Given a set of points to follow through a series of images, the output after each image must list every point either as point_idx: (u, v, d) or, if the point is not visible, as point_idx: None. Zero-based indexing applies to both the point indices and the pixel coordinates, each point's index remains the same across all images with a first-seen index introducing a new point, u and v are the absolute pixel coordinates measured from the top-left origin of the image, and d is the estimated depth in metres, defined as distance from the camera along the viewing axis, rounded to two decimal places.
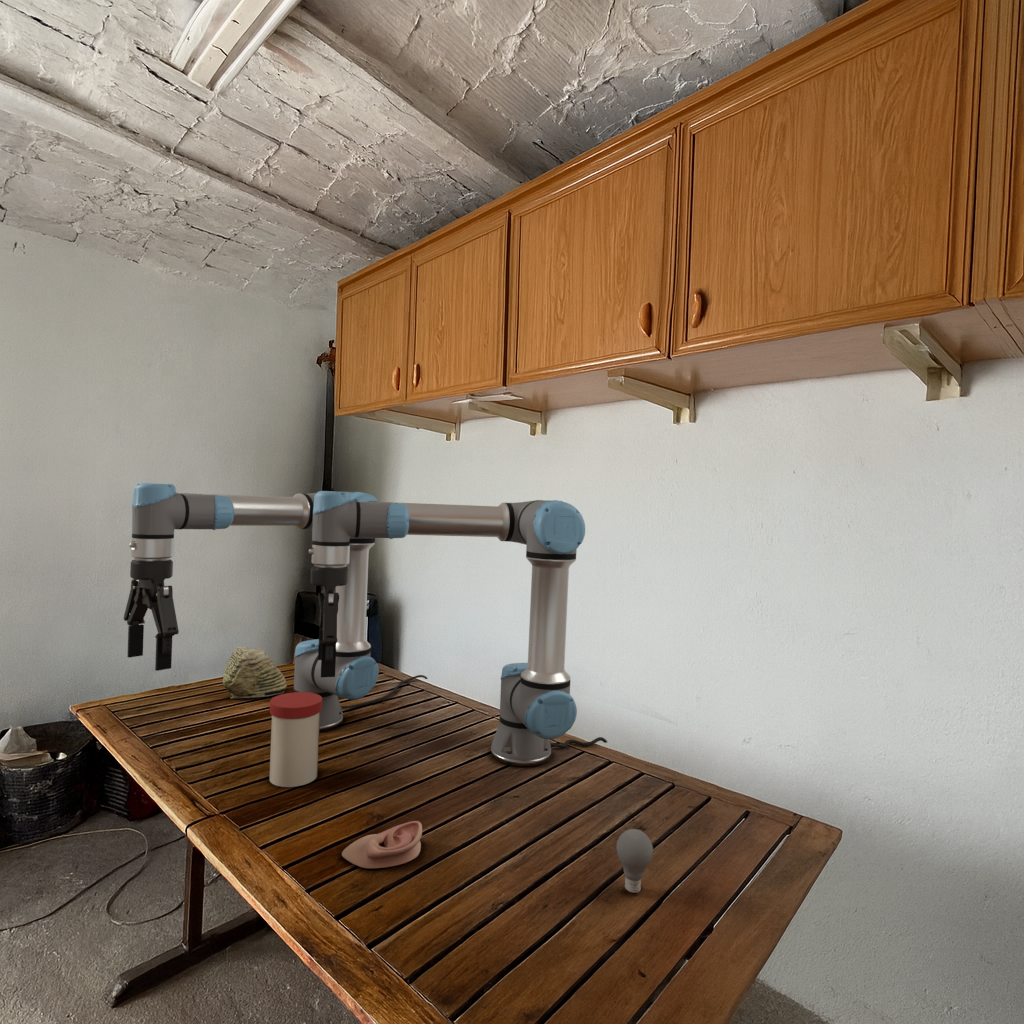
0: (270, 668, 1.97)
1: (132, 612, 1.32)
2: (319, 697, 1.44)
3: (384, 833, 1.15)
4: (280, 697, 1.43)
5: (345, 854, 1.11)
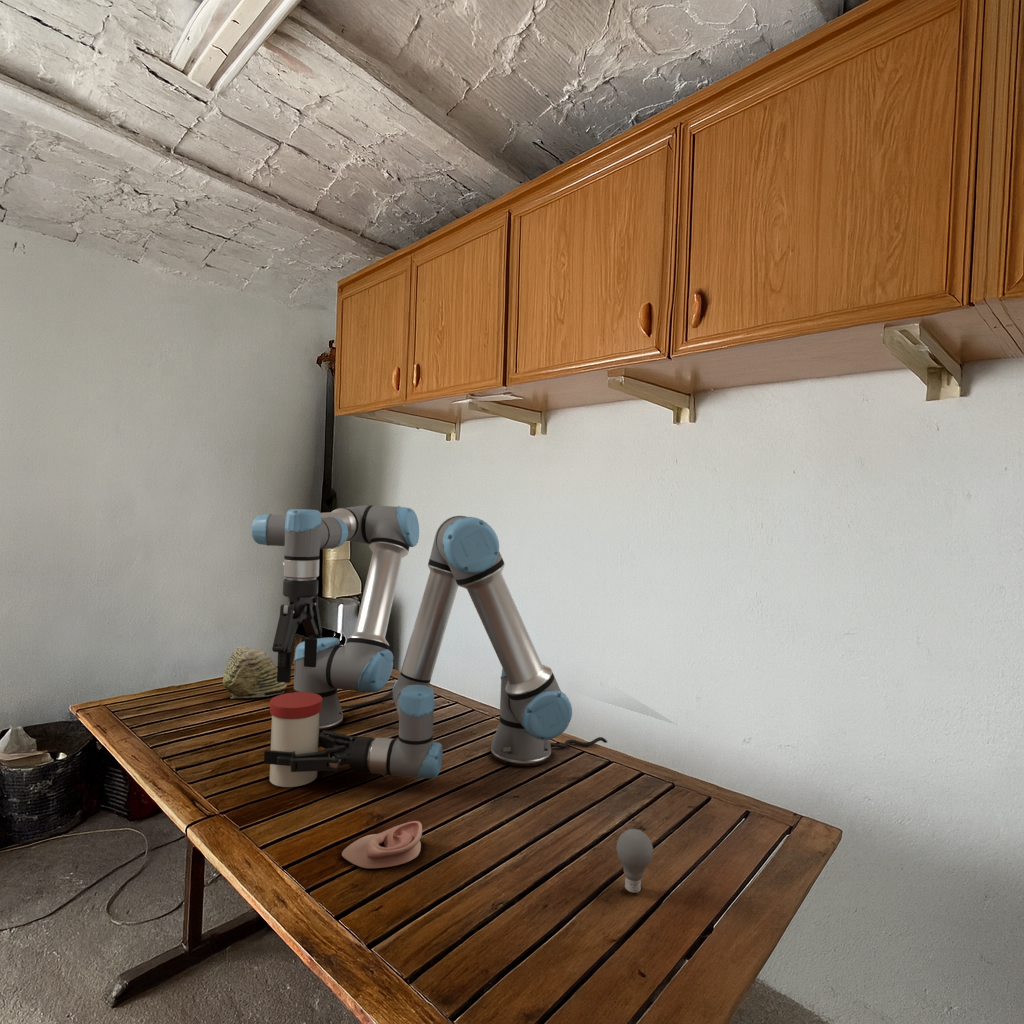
0: (270, 668, 1.97)
1: None
2: (319, 697, 1.44)
3: (384, 833, 1.15)
4: (280, 697, 1.43)
5: (345, 854, 1.11)
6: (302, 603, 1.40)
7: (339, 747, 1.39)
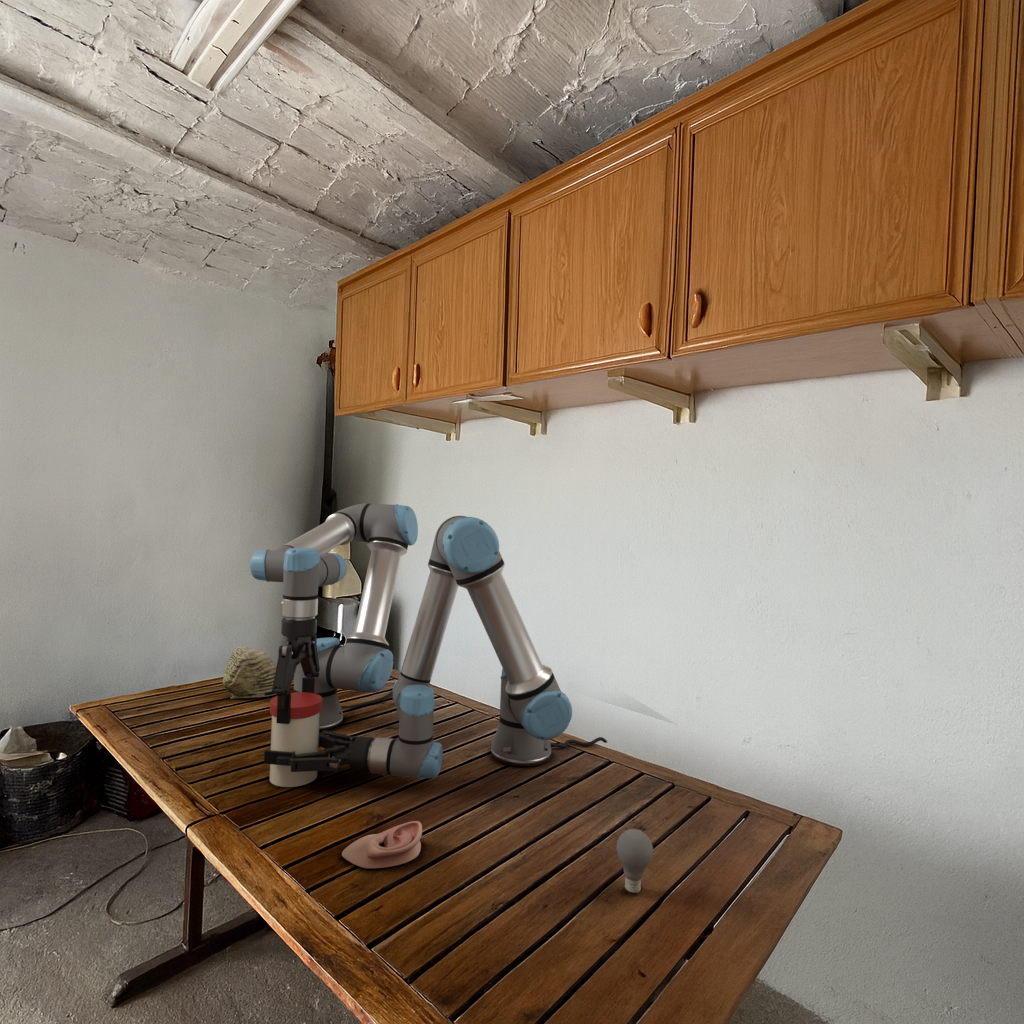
0: (270, 668, 1.97)
1: None
2: (319, 697, 1.44)
3: (384, 833, 1.15)
4: None
5: (345, 854, 1.11)
6: (300, 642, 1.41)
7: (339, 747, 1.39)
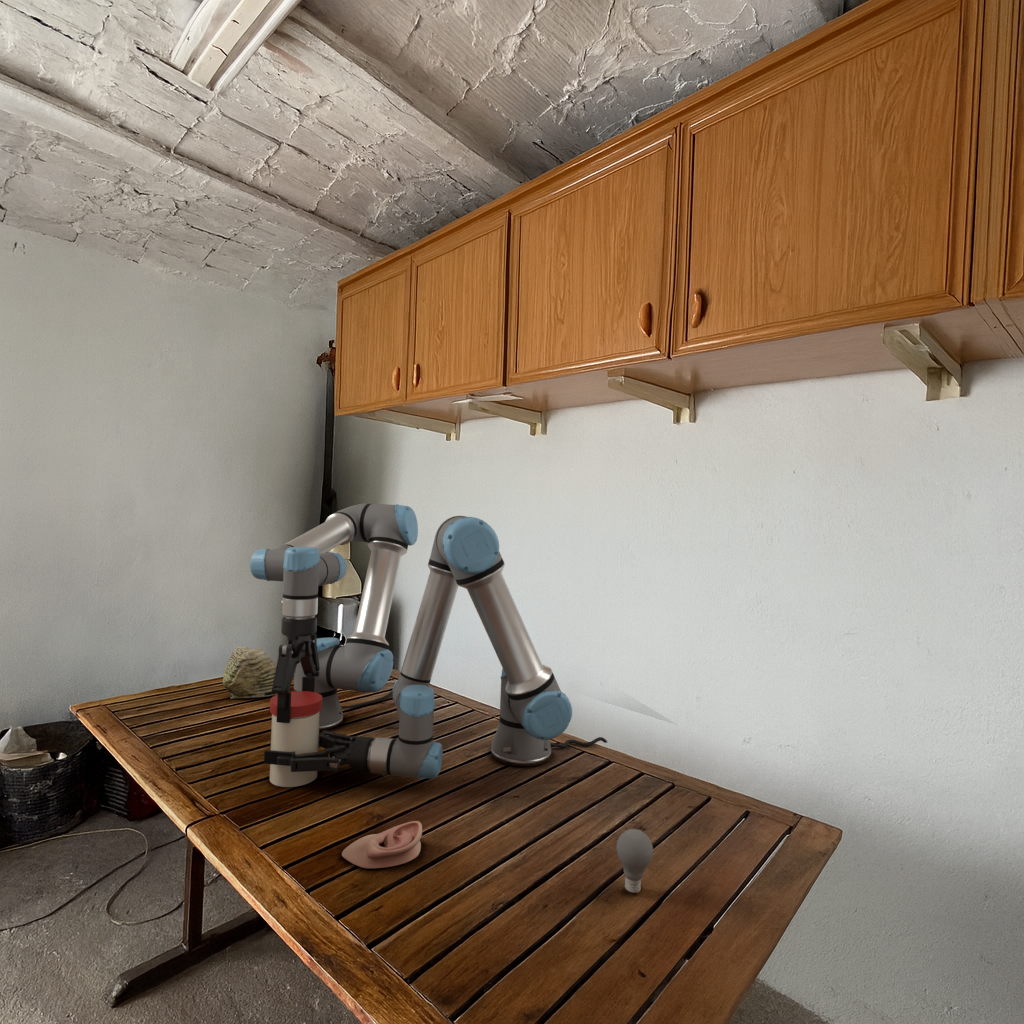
0: (270, 668, 1.97)
1: None
2: (298, 691, 1.47)
3: (384, 833, 1.15)
4: None
5: (345, 854, 1.11)
6: (300, 641, 1.41)
7: (339, 747, 1.39)
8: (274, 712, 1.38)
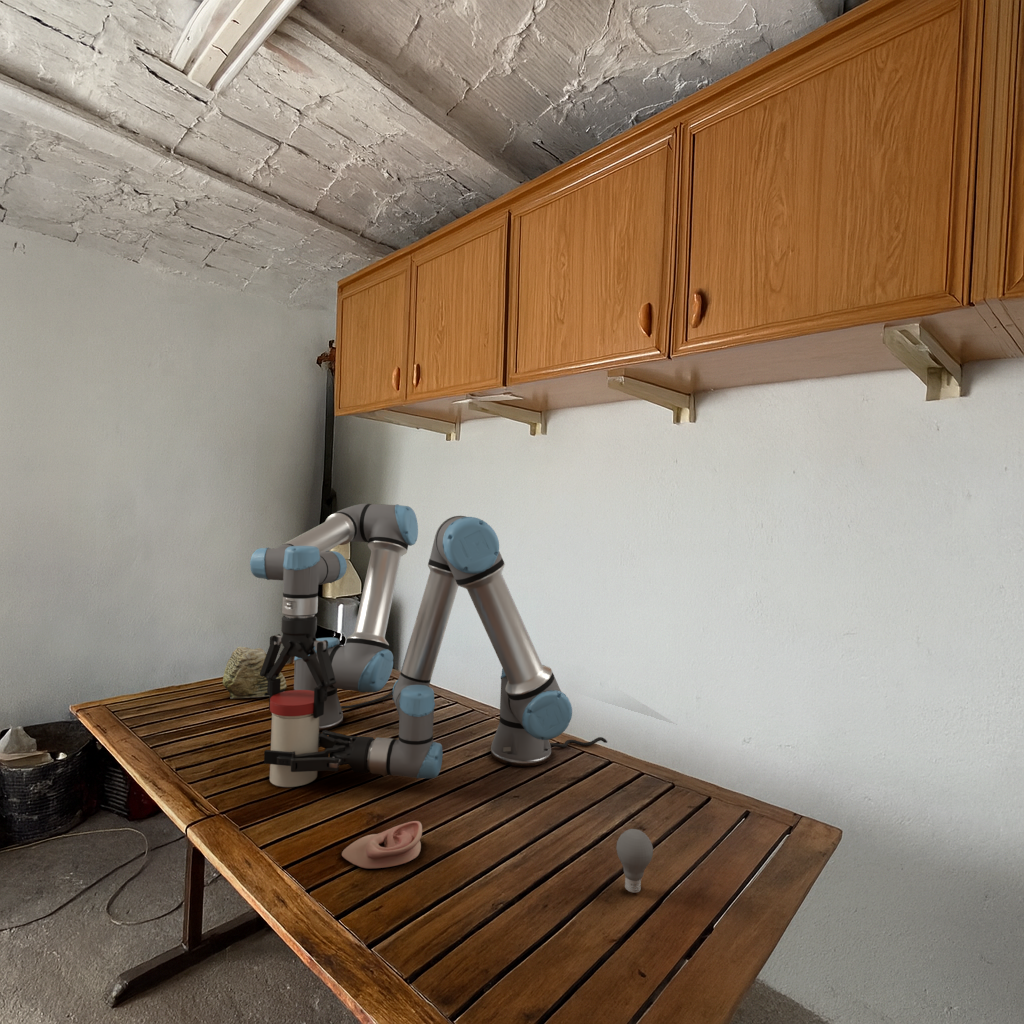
0: None
1: (275, 667, 1.43)
2: (274, 696, 1.42)
3: (384, 833, 1.15)
4: (307, 701, 1.40)
5: (345, 854, 1.11)
6: None
7: (339, 747, 1.39)
8: (307, 712, 1.38)
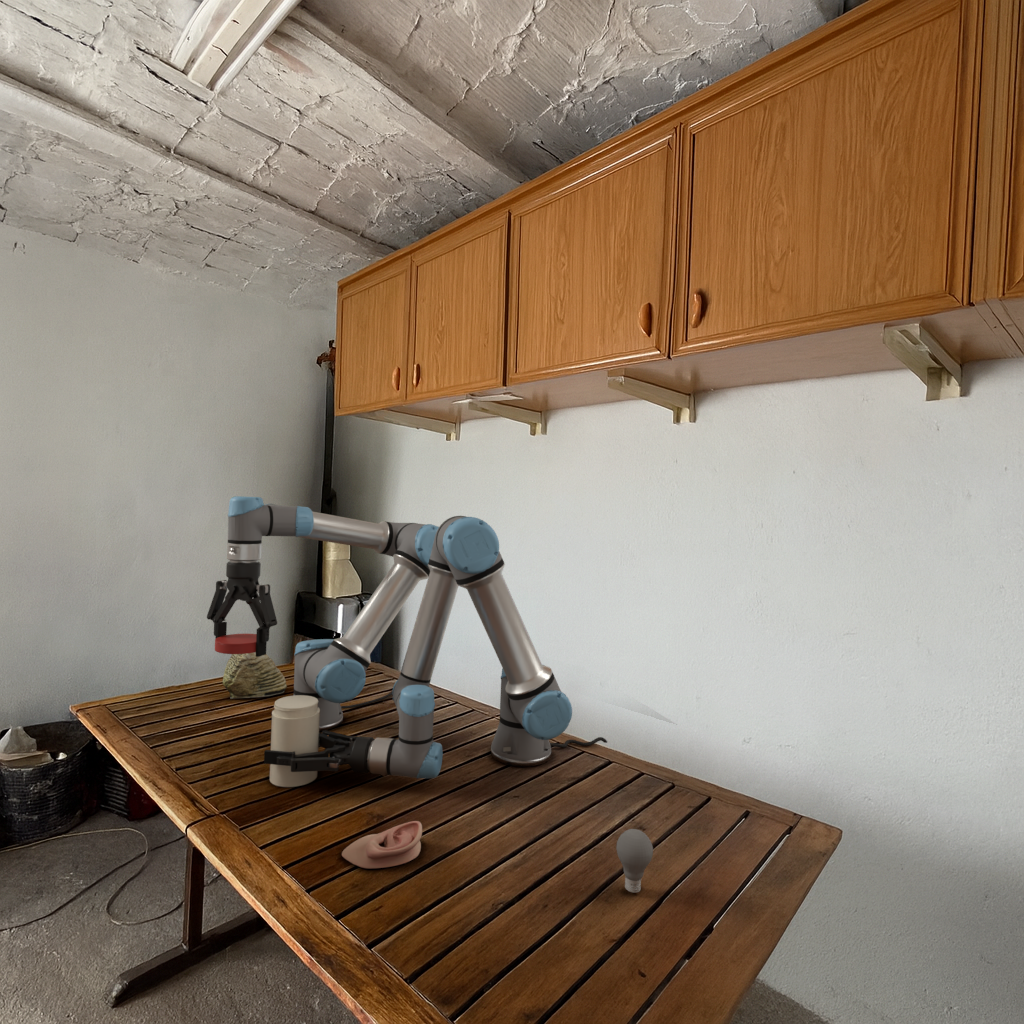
0: (270, 668, 1.97)
1: (220, 610, 1.51)
2: (219, 637, 1.51)
3: (384, 833, 1.15)
4: (250, 641, 1.49)
5: (345, 854, 1.11)
6: None
7: (339, 747, 1.39)
8: (249, 650, 1.47)
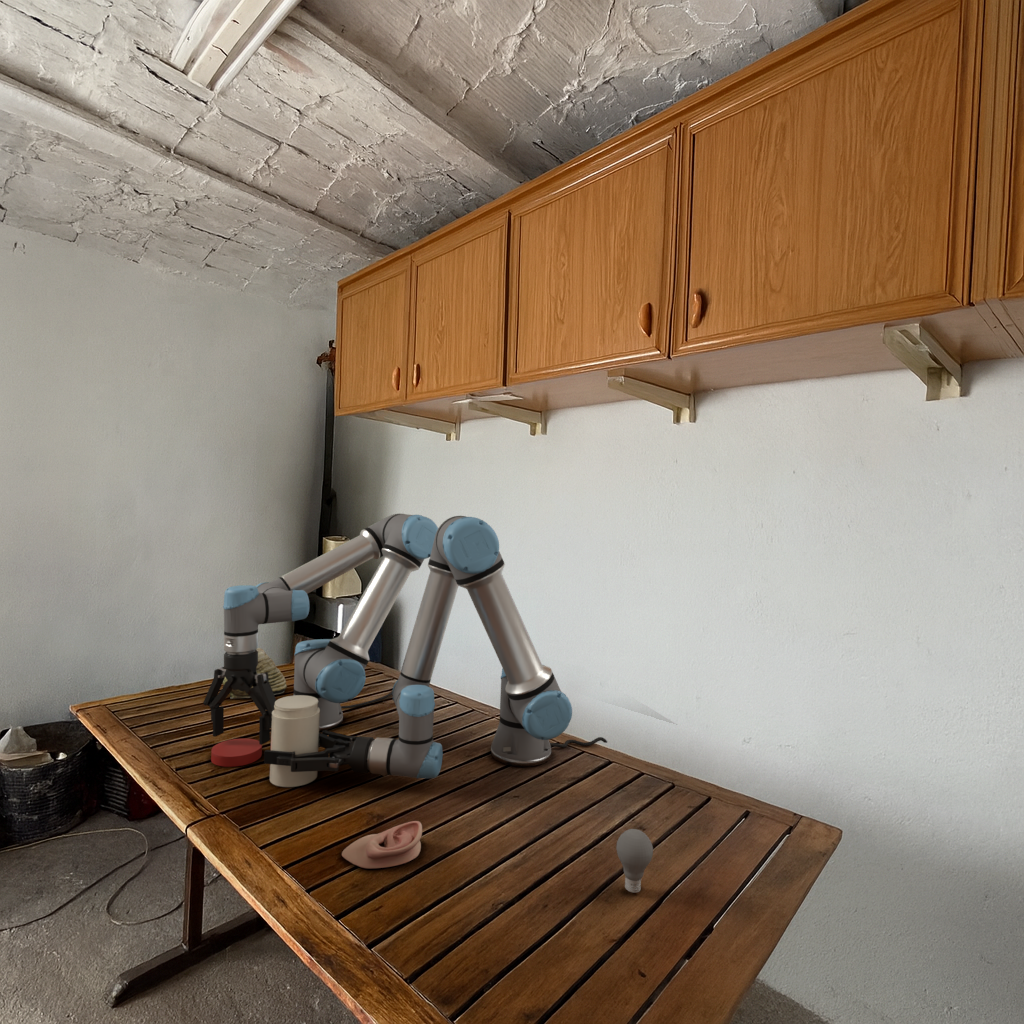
0: (270, 668, 1.97)
1: (218, 697, 1.52)
2: (215, 746, 1.51)
3: (384, 833, 1.15)
4: (246, 751, 1.49)
5: (345, 854, 1.11)
6: None
7: (339, 747, 1.39)
8: (245, 762, 1.48)
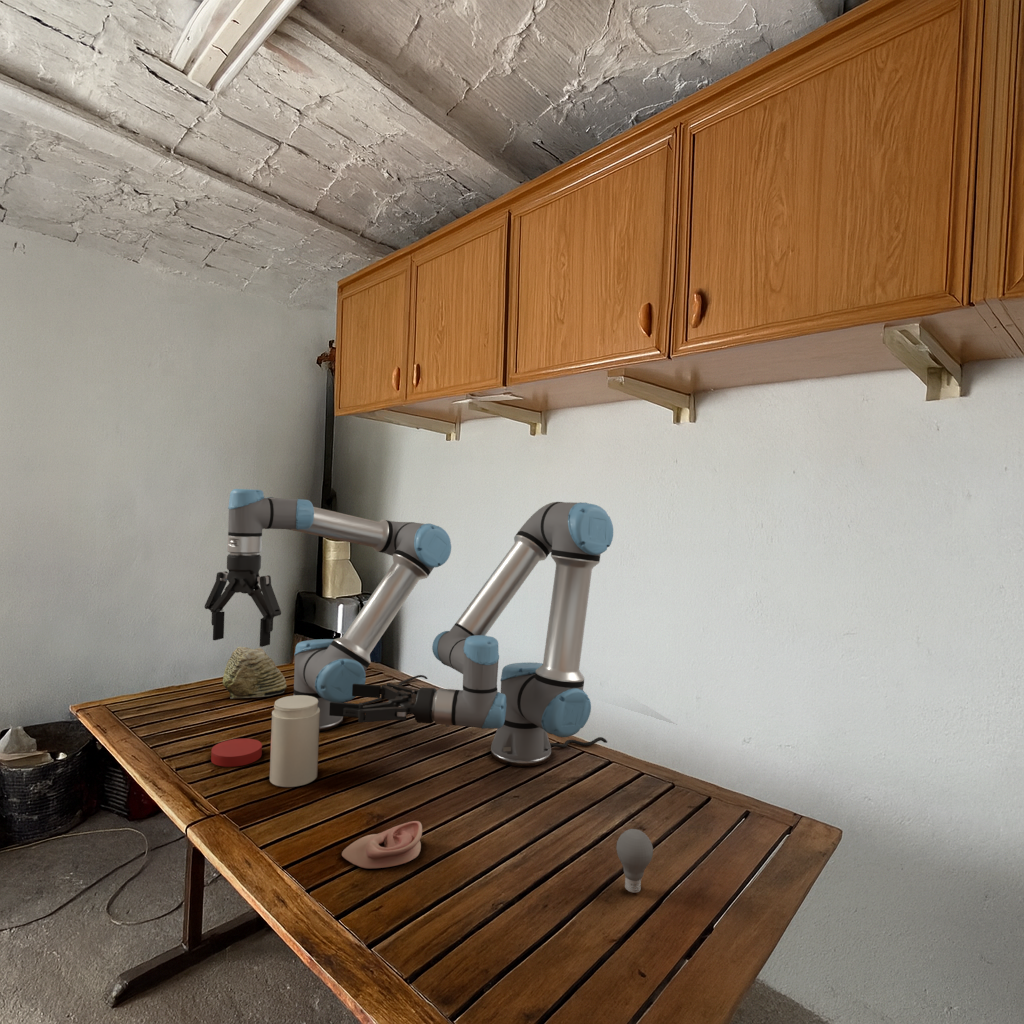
0: (270, 668, 1.97)
1: (219, 600, 1.52)
2: (215, 746, 1.51)
3: (384, 833, 1.15)
4: (246, 751, 1.49)
5: (345, 854, 1.11)
6: None
7: (403, 697, 1.38)
8: (245, 762, 1.48)
